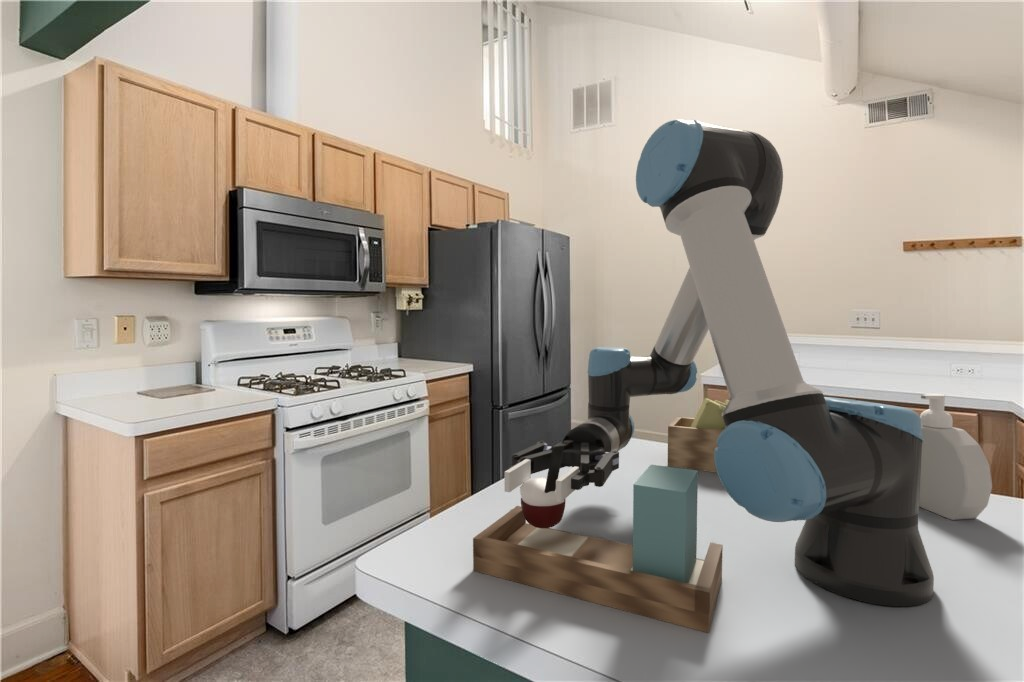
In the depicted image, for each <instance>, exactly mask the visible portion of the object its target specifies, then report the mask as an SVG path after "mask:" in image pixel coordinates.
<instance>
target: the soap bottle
mask: <svg viewBox="0 0 1024 682" xmlns="http://www.w3.org/2000/svg"><path fill="white" fill-rule="evenodd" d="M945 397H946V395H945V394H940V393H927V394H921V395H920V399H921V400H929V403H928V405H929V406H928V409H925V410H923V411H922V412H921V413H920V415H919V416H920V418H921V426H922V436H923V443H922V453H921V473H920V493H919V508H921V509H924V510H926V511H929V512H931V513H933V514H936V515H938V516H941V517H943V518H945V519H948V520H949V521H954V520H955V521H957V520H970V519H977V517H979V515H980V514H982V512H984V510H985V509H986V508H987V507H988V504H989V500H990V497H991V494H992V490H993V482H992V475H991V474H992V473H991V467H990V464H989V461H988V459H987V457H986V455H985V453H984V451H983V449H982V447H981V445H980V444H979V442H977V441H976V440H975V439H974V438H973V437H972V435H971V434H969V433H968V432H967V431H966V430H965V429H963V428H958V427H953V425H954V424H953V421H954V419H953V416H952V415H951V413H950V412H947V411H945V404H946V403H945V400H946V398H945Z"/></svg>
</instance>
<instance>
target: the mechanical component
mask: <svg viewBox="0 0 1024 682" xmlns="http://www.w3.org/2000/svg"><path fill="white" fill-rule="evenodd" d="M728 402H729V400H728V399H725V400H724V402H722V401H720V400H717V399H714V400H712V399H710V398H707V397H704V398H703V401H702V402H701V404H700V406H699V408H698V411H697V413H696V415H695V417H694V418H695V419H694V421H693V423H692V425H691V427H692V428H702V429H713V430H724V429H725V428H726V427H725V423H724V420H723V417H722V412H723V411H724V409H725V407H726V406H727V404H728Z"/></svg>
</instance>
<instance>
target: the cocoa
mask: <svg viewBox="0 0 1024 682" xmlns="http://www.w3.org/2000/svg"><path fill="white" fill-rule="evenodd" d="M563 450H564V447H563V446H557V447H553V449H552V454H551V459H550V465H549V469H547V470H548V471H547V476H546V477H534V478H530V479H529V480H527V481H525V482H524V483H523V484H521V485H520V486H519V493H520V497H521V498H520V504H521V505H520V507H522V512H523V515H524V517H525V519H526V523H527V524H531V525H532V526H534V527H537V528H553V527H555V526H556V525H558V524H560V523H561V521H562V520H563V516H564V512H565V508H566V498H565V499H564V500H563V501H562V502H558V501H556V480H557V479H558V478H559V474H560V469H561V468H560V465H561V460H562V455H563Z"/></svg>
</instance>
